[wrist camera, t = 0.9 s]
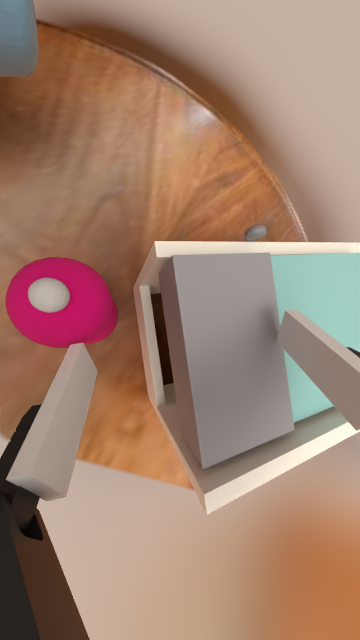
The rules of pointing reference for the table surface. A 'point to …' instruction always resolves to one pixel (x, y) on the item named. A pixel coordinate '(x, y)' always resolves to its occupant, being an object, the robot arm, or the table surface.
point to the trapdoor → (249, 342)
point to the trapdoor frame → (208, 483)
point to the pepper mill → (61, 303)
